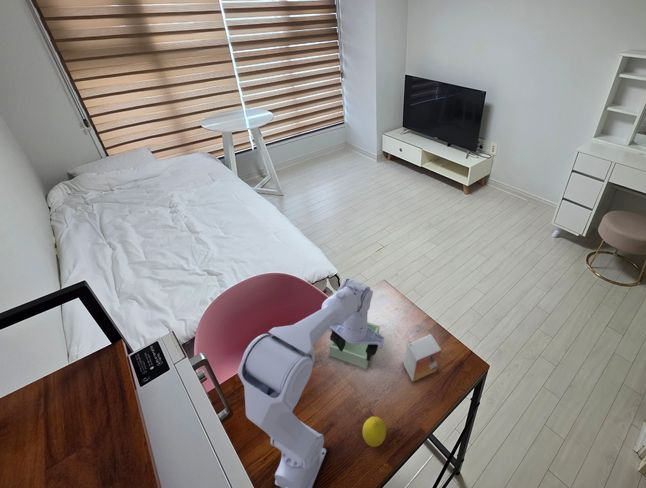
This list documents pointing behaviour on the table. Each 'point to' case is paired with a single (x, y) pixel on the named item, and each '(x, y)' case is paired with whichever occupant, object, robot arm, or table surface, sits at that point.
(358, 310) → the robot arm
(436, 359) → the white toy house
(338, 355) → the green square open tray
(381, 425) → the lemon
